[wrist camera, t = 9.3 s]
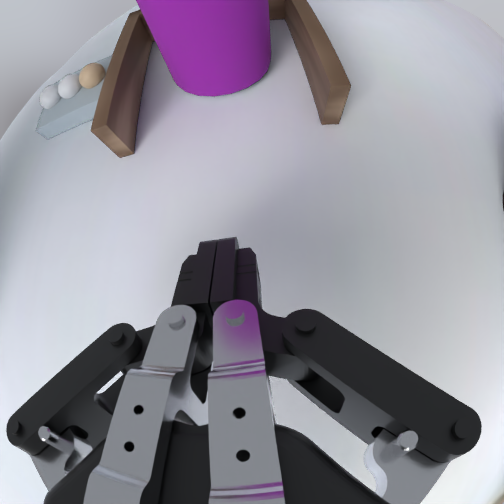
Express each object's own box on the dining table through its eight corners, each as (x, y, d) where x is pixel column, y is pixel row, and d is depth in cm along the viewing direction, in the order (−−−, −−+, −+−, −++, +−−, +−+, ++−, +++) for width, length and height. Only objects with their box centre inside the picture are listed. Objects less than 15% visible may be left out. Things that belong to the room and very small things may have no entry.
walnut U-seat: (119, 157, 17) (90, 130, 13) (143, 39, 20) (130, 13, 16) (338, 124, 16) (351, 85, 12) (294, 13, 19) (295, -17, 15)
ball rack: (47, 139, 19) (24, 121, 15) (62, 94, 20) (43, 75, 16) (113, 111, 18) (91, 84, 14) (124, 66, 19) (108, 41, 15)
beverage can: (180, 116, 17) (110, -19, 6) (171, 58, 19) (125, -47, 7) (284, 89, 17) (284, -60, 5) (256, 35, 18) (243, -76, 7)
